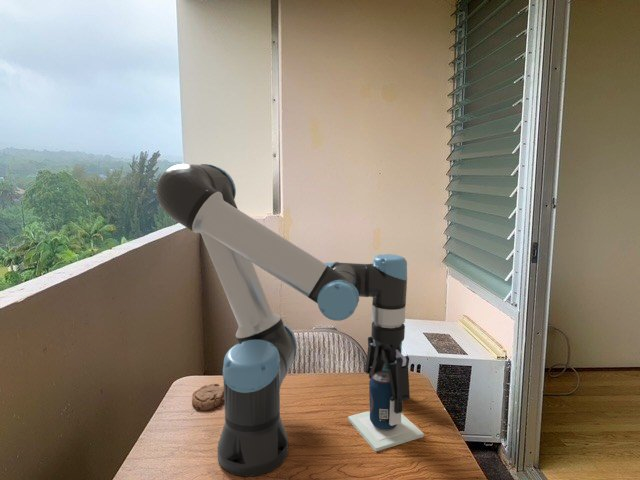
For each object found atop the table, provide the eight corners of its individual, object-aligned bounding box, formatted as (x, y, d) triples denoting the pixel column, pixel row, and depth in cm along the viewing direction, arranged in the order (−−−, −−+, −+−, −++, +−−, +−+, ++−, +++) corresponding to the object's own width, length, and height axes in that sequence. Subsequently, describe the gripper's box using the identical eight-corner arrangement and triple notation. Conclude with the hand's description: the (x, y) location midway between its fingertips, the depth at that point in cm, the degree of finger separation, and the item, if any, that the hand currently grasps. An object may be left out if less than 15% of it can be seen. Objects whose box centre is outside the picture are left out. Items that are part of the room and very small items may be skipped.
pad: (375, 451, 90) (375, 448, 90) (347, 419, 102) (347, 416, 102) (423, 436, 96) (423, 433, 95) (392, 407, 107) (392, 404, 107)
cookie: (187, 413, 105) (186, 402, 104) (195, 391, 115) (194, 381, 115) (227, 410, 106) (226, 400, 105) (231, 389, 116) (231, 379, 116)
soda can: (371, 414, 103) (370, 368, 101) (399, 416, 101) (399, 370, 100) (368, 430, 96) (367, 382, 94) (399, 433, 95) (398, 383, 93)
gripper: (430, 336, 87) (425, 434, 90) (378, 306, 105) (375, 389, 109) (400, 341, 84) (396, 443, 87) (352, 310, 102) (350, 395, 106)
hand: (384, 413), depth 98 cm, fingers open, 8 cm apart
